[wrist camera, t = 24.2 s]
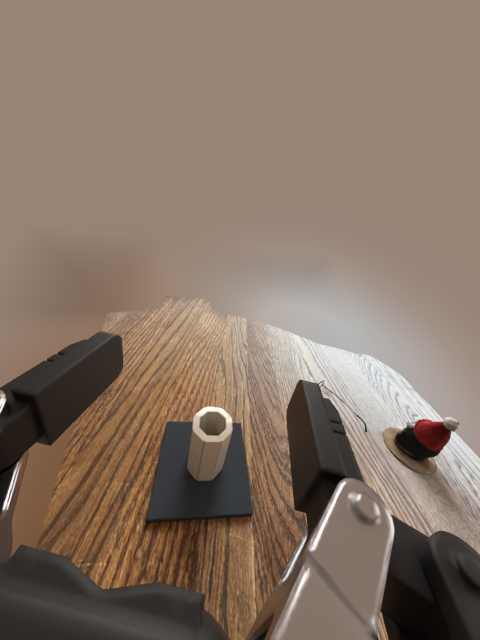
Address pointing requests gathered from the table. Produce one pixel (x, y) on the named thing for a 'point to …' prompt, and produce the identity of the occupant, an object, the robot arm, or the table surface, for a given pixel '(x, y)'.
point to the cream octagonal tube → (209, 442)
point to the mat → (198, 496)
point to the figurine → (420, 442)
